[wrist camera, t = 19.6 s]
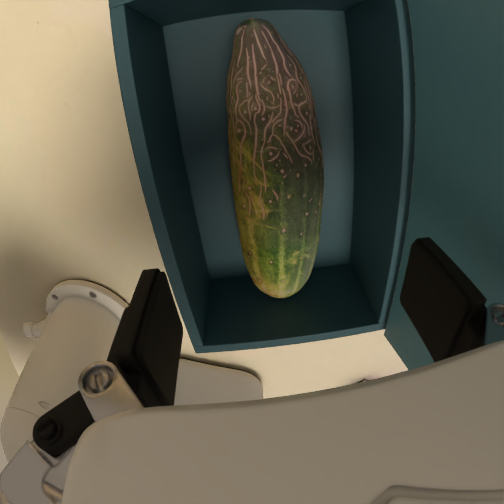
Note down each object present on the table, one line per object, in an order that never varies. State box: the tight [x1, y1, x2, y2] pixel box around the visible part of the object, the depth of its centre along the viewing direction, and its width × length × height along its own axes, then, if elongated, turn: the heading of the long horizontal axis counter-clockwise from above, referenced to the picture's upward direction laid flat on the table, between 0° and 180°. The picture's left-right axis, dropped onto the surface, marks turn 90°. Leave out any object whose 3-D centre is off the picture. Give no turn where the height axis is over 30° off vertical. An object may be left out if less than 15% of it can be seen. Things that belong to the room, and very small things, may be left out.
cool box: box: [109, 0, 416, 353], centre depth 19 cm, size 15×24×9 cm, turn 6°
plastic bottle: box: [174, 359, 263, 405], centre depth 28 cm, size 15×15×28 cm
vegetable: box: [226, 18, 324, 298], centre depth 20 cm, size 6×6×20 cm
